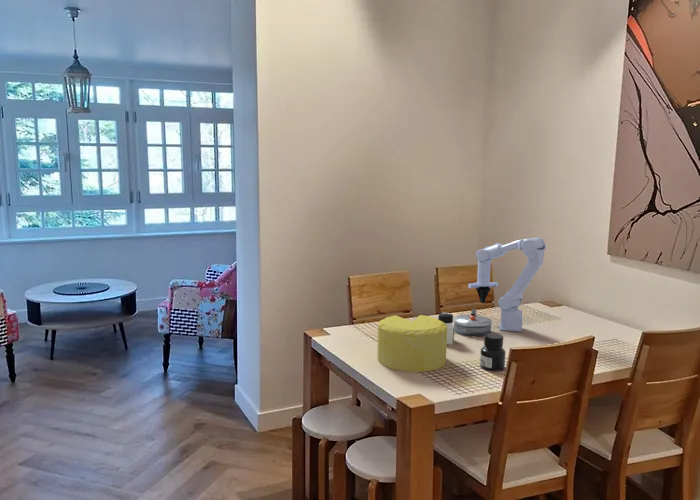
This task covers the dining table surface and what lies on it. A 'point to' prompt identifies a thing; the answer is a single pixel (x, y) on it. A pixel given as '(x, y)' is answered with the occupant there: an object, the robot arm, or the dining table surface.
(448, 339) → the medicine bottle
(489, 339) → the ink bottle
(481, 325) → the cooker lid
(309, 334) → the dining table surface
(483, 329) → the cooker pot
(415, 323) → the cheese
